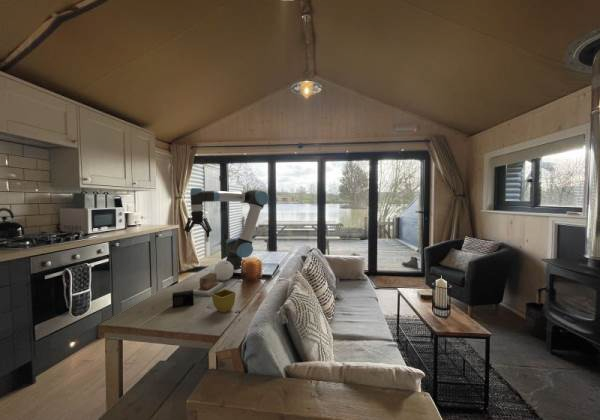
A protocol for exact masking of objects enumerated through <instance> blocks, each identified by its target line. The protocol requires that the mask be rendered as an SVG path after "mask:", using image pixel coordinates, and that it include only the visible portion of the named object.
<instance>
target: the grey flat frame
mask: <svg viewBox="0 0 600 420" xmlns="http://www.w3.org/2000/svg"><path fill="white" fill-rule="evenodd" d="M227 286H228V284H227V283H224V282H217V286H215V287H214V288H212V289H210V290H209V291H202V290H200V286H198V287H196V288H195V289H192V290H193V296H198V297H199V296H200V297H212V294H213V293H216V292H219V291H221V290H223V289H224V288H225V287H227Z"/></svg>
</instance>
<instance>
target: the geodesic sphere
mask: <svg viewBox="0 0 600 420" xmlns="http://www.w3.org/2000/svg"><path fill="white" fill-rule="evenodd" d="M234 270H235V269H234V268H233V265H232V264H231V263H230V262H228V261H226V260H221V261H219V262H218V263H216V264H215V266H214V268H213V272H214V273H216V275H217V280H220V281H228V280H229V279H230V278H231V277H233V274H234Z"/></svg>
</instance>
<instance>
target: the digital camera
mask: <svg viewBox="0 0 600 420" xmlns="http://www.w3.org/2000/svg"><path fill="white" fill-rule="evenodd" d="M193 290H194V289H191V290H185V291H184V290H183V291H177V292H172V296H171V297H172V298H171V301H172V308H173V309H177V308H184V307H189V306H194V305H195V304H194V303H195V302H194V295H193Z"/></svg>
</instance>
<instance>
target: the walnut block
mask: <svg viewBox="0 0 600 420" xmlns="http://www.w3.org/2000/svg"><path fill="white" fill-rule="evenodd" d="M217 281H218V279H217V275H216V273H213V272H209V273H208V274H205V275H203V276H201V277H199V287H200V290H202V291H209V290H210V289H212V288H214V287H215V286H217Z"/></svg>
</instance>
